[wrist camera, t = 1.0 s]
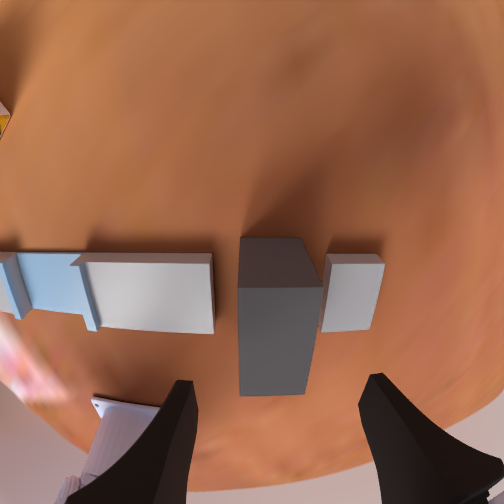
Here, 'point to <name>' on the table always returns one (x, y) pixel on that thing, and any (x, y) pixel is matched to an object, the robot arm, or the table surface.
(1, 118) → the medicine bottle
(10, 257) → the flanged white bar
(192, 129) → the table surface
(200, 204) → the table surface
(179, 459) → the robot arm
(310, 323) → the grey tapered block
